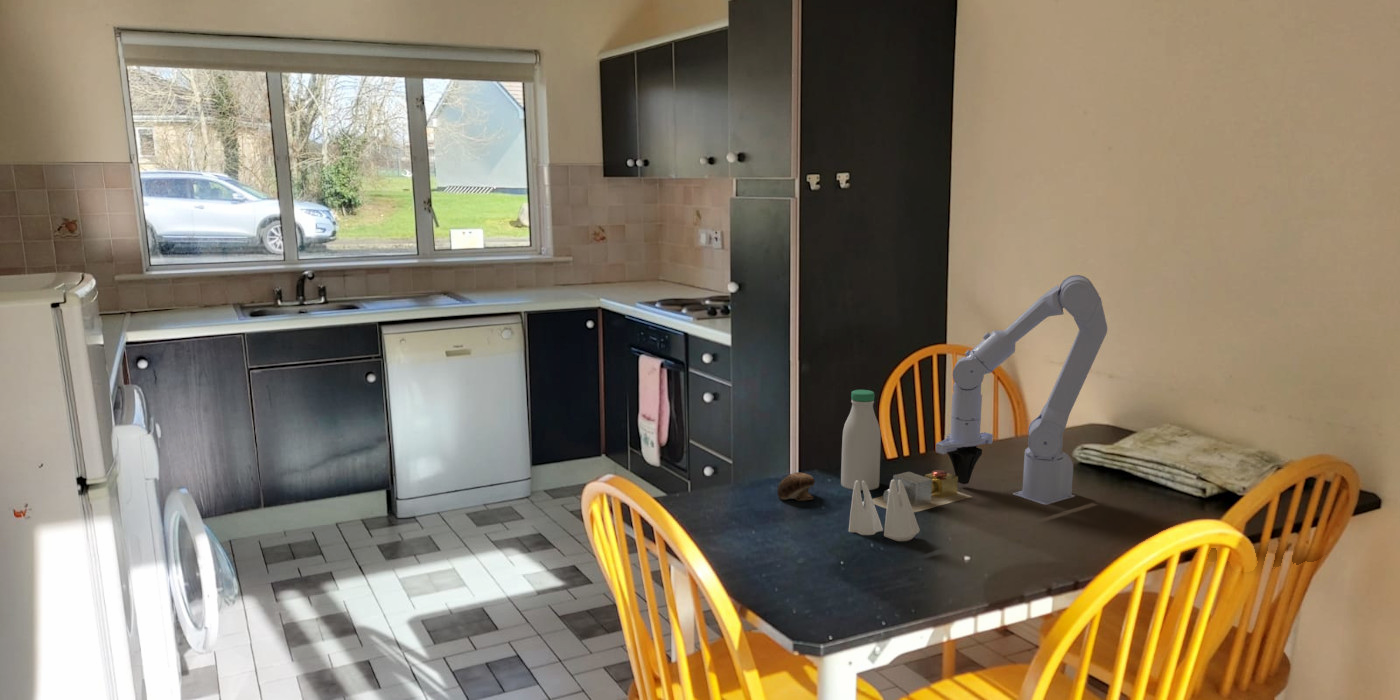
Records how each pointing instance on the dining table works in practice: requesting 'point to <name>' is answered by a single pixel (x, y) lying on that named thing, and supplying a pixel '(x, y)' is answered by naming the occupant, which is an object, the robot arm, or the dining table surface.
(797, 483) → the mushroom
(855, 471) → the milk bottle
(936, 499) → the board
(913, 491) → the grey rectangular block
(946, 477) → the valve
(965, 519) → the dining table surface
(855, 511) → the salt and pepper shakers
